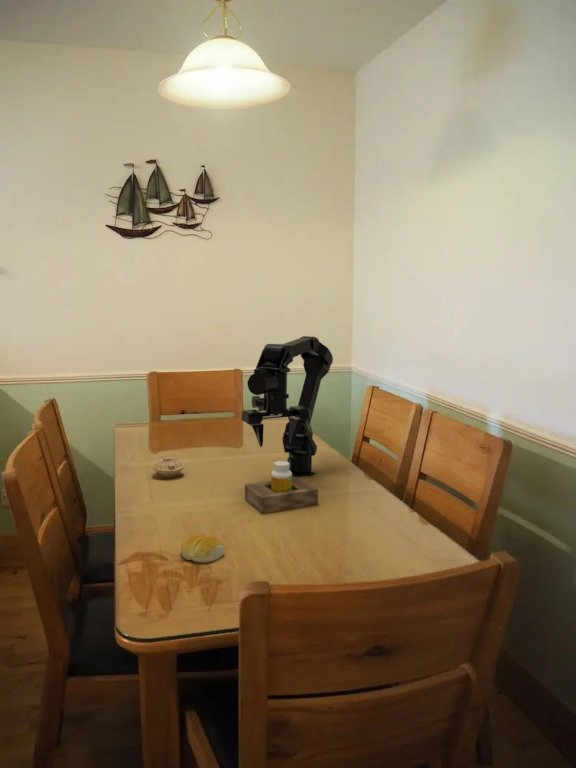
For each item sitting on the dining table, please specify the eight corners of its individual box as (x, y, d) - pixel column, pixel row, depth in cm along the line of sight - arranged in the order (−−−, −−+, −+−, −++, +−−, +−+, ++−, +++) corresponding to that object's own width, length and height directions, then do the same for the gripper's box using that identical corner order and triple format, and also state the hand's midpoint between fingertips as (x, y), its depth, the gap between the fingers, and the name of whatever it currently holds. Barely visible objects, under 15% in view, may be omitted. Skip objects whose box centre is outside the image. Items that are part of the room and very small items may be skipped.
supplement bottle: (289, 503, 155) (289, 466, 153) (268, 501, 156) (269, 465, 154) (293, 496, 160) (293, 460, 158) (273, 494, 161) (273, 459, 159)
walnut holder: (298, 491, 166) (298, 477, 166) (317, 504, 157) (318, 489, 156) (244, 499, 159) (244, 484, 159) (261, 513, 150) (261, 498, 149)
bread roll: (197, 543, 133) (197, 525, 132) (230, 553, 128) (230, 535, 127) (171, 556, 126) (171, 538, 125) (205, 567, 121) (204, 549, 120)
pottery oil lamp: (178, 465, 188) (187, 447, 185) (178, 489, 177) (187, 471, 175) (151, 457, 185) (159, 439, 182) (149, 481, 174) (157, 463, 172)
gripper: (293, 383, 177) (292, 435, 180) (234, 387, 169) (234, 441, 171) (311, 389, 167) (310, 444, 170) (249, 393, 159) (249, 451, 162)
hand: (275, 444), depth 168 cm, fingers open, 9 cm apart
